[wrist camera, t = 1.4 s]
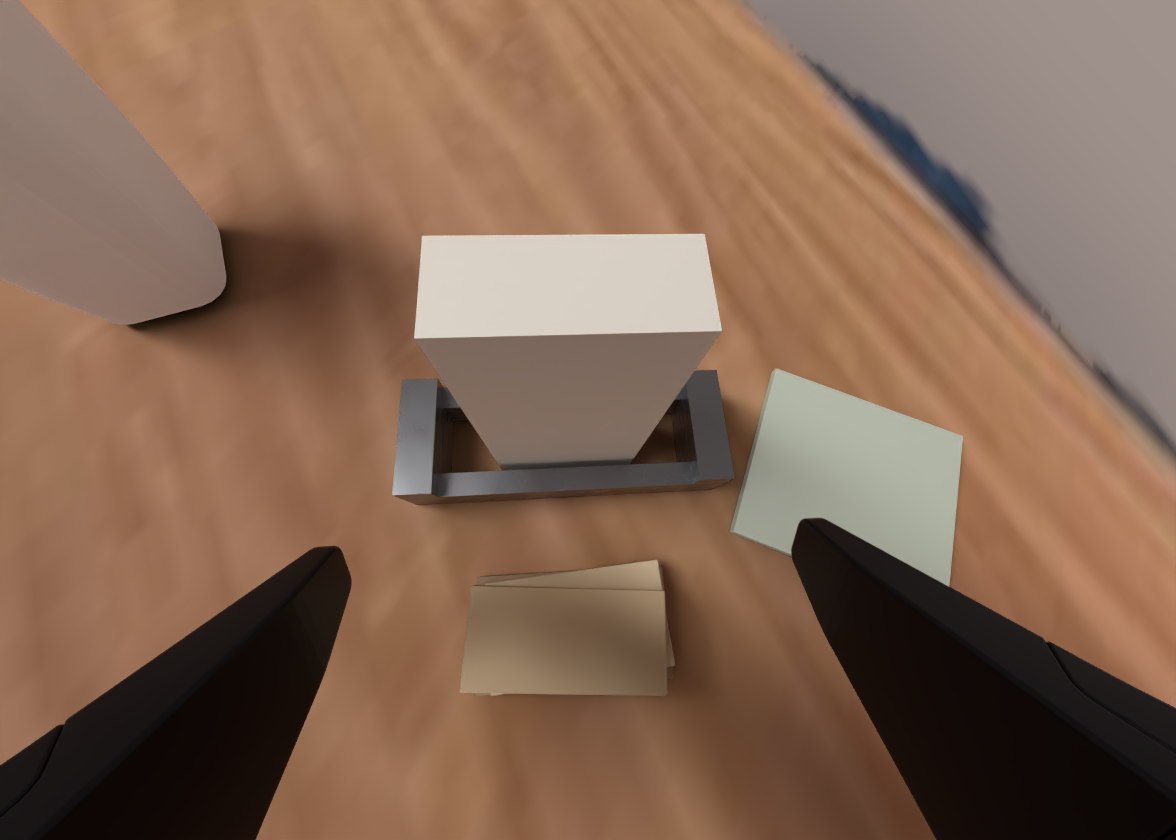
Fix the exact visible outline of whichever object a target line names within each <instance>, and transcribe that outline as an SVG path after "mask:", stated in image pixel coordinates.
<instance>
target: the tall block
mask: <svg viewBox="0 0 1176 840" xmlns="http://www.w3.org/2000/svg"><path fill="white" fill-rule="evenodd" d="M721 332H722V329H721V323H720V318H719V312H718V307H717V301H716V296H715V290H714V284H713V279H712V273H711V268H710V262H709V257H708V251H707V245H706V240H705V234H624V235H482V236H422V246H421V259H420V272H419V285H418V297H417V310H416V323H415V336H414V339H415V340H416V342H417V343H418V345H419V346H420V348H421V349H422V351H423V352H424V354H425V355H426V357H427V358H428V360H429V361H430V363H431V364H432V366H433V367H434V369H435V370H436V372H437V373H438V375H439V376H440V378H441V379H442V381H443V382H444V384H445V385H446V387H447V388H448V390H449V391H450V393H451V394H452V396H453V397H454V399H455V400H456V402H457V403H458V405H459V406H460V408H461V409H462V411H463V412H464V414H465V415H466V417H467V418H468V420H469V421H470V423H471V424H472V426H473V427H474V429H475V430H476V432H477V433H478V435H479V436H480V438H481V439H482V441H483V442H484V444H485V445H486V447H487V448H488V450H489V451H490V453H491V454H492V456H493V457H494V459H495V460H496V462H497V463H498V465H499V466H500V468H501V469H502V471H506V470H527V469H548V468H570V467H591V466H612V465H630V463H631V462H632V460H633V459H634V457H635V456H636V455H637V453H638V452H639V450H640V449H641V447H642V446H643V444H644V443H645V442H646V440H647V439H648V437H649V436H650V434H651V433H652V431H653V430H654V429H655V427H656V426H657V424H658V423H659V421H660V420H661V418H662V417H663V416H664V414H665V413H666V411H667V410H668V408H669V407H670V405H671V404H672V402H673V401H674V400H675V398H676V397H677V395H678V394H679V392H680V391H681V389H682V388H683V387H684V385H685V384H686V382H687V381H688V379H689V378H690V376H691V375H692V374H693V372H694V371H695V369H696V368H697V366H698V365H699V363H700V362H701V361H702V359H703V358H704V356H705V355H706V353H707V352H708V350H709V349H710V348H711V346H712V345H713V343H714V342H715V340H716V339H717V337H718V336H719V334H720V333H721Z"/></svg>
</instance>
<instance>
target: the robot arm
mask: <svg viewBox="0 0 1176 840" xmlns="http://www.w3.org/2000/svg"><path fill="white" fill-rule="evenodd" d="M791 555H792V560H793V563H794V565H795V567H796V570H797V572H798V574H799V577H800V579H801V581H802V584H803V586H804V588H805V591H806V593H807V595H808V598H809V600H810V602H811V605H812V607H813V610H814V612H815V614H816V617H817V619H818V621H819V623H820V626H821V628H822V630H823V632H824V634H825V636H826V638H827V640H828V642H829V644H830V646H831V647H832V649H833V651H834V653H835V655H836V657H837V658H838V660H839V662H840V664H841V666H842V667H843V669H844V671H845V673H846V675H847V677H848V678H849V680H850V682H851V684H852V686H853V688H854V689H855V691H856V693H857V695H858V697H859V699H860V700H861V702H862V704H863V706H864V708H865V710H866V711H867V713H868V715H869V717H870V719H871V721H872V722H873V724H874V726H875V728H876V730H877V732H878V733H879V735H880V737H881V739H882V741H883V743H884V744H885V746H886V748H887V750H888V752H889V754H890V755H891V757H892V759H893V761H894V763H895V765H896V766H897V768H898V770H899V772H900V774H901V776H902V777H903V779H904V781H905V783H906V785H907V787H908V788H909V790H910V792H911V794H912V796H913V798H914V799H915V801H916V803H917V805H918V807H919V809H920V810H921V812H922V814H923V816H924V818H925V820H926V821H927V823H928V825H929V827H930V829H931V831H932V832H933V834H934V836H935V838H936V840H1176V708H1174V707H1172V706H1170V705H1169V704H1167V703H1165V702H1163V701H1161V700H1159V699H1157V698H1155V697H1153V696H1151V695H1149V694H1147V693H1145V692H1143V691H1141V690H1139V689H1137V688H1135V687H1133V686H1131V685H1129V684H1127V683H1125V682H1124V681H1122V680H1120V679H1118V678H1116V677H1114V676H1112V675H1110V674H1109V673H1107V672H1105V671H1103V670H1101V669H1099V668H1097V667H1095V666H1094V665H1092V664H1090V663H1088V662H1086V661H1084V660H1082V659H1080V658H1079V657H1077V656H1075V655H1073V654H1071V653H1070V652H1068V651H1066V650H1064V649H1062V648H1060V647H1059V646H1057V645H1055V644H1053V643H1051V642H1045V640H1044V639H1043V638H1042V637H1040V636H1038V635H1037V634H1035V633H1033V632H1031V631H1029V630H1027V629H1026V628H1024V627H1022V626H1020V625H1018V624H1016V623H1015V622H1013V621H1011V620H1009V619H1007V618H1005V617H1004V616H1002V615H1000V614H998V613H996V612H994V611H993V610H991V609H989V608H987V607H985V606H983V605H982V604H980V603H978V602H976V601H974V600H973V599H971V598H969V597H967V596H965V595H963V594H962V593H960V592H958V591H956V590H954V589H952V588H951V587H949V586H947V585H945V584H943V583H941V582H940V581H938V580H936V579H934V578H932V577H930V576H929V575H927V574H925V573H923V572H921V571H919V570H918V569H916V568H914V567H912V566H910V565H909V564H907V563H905V562H903V561H901V560H899V559H898V558H896V557H894V556H892V555H890V554H888V553H887V552H885V551H883V550H881V549H879V548H877V547H876V546H874V545H872V544H870V543H868V542H866V541H865V540H863V539H861V538H859V537H857V536H855V535H854V534H852V533H850V532H848V531H846V530H844V529H843V528H841V527H839V526H837V525H835V524H834V523H832V522H830V521H828V520H826V519H824V518H819V517H818V518H804V519H802V520H801V521H800V522H799V524H798V527H797V530H796V534H795V537H794V541H793V544H792V548H791ZM350 590H351V575H350V573H349V570H348V567H347V564H346V561H345V559H344V556H343V553H342V551H341V549H340V548H339V547H337V546H323V547H315V548H313V549H311V550H309V551H308V552H306V553H305V554H304V555H302V556H301V557H299V558H298V559H296V560H295V561H293V562H292V563H291V564H289V565H288V566H286V567H285V568H283V569H282V570H281V571H279V572H278V573H276V574H275V575H273V576H272V577H271V578H269V579H268V580H266V581H265V582H263V583H262V584H260V585H259V586H258V587H256V588H255V589H253V590H252V591H250V592H249V593H248V594H246V595H245V596H243V597H242V598H240V599H239V600H238V601H236V602H235V603H233V604H232V605H230V606H229V607H227V608H226V609H225V610H223V611H222V612H220V613H219V614H217V615H216V616H215V617H213V618H212V619H210V620H209V621H207V622H206V623H205V624H203V625H202V626H200V627H199V628H197V629H196V630H194V631H193V632H192V633H190V634H189V635H187V636H186V637H184V638H183V639H182V640H180V641H179V642H177V643H176V644H174V645H173V646H172V647H170V648H169V649H167V650H166V651H164V652H163V653H161V654H160V655H159V656H157V657H156V658H154V659H153V660H151V661H150V662H149V663H147V664H146V665H144V666H143V667H141V668H140V669H138V670H137V671H136V672H134V673H133V674H131V675H130V676H128V677H127V678H126V679H124V680H123V681H121V682H120V683H118V684H117V685H115V686H114V687H113V688H111V689H110V690H108V691H107V692H105V693H104V694H103V695H101V696H100V697H98V698H97V699H95V700H94V701H92V702H91V703H90V704H88V705H87V706H85V707H84V708H82V709H81V710H80V711H78V712H77V713H75V714H74V715H72V716H71V717H69V718H68V719H67V720H66V722H65V724H64V725H63V724H62V725H58V726H56V727H55V728H54V729H52V730H51V731H49V732H48V733H46V734H45V735H44V736H42V737H41V738H39V739H38V740H36V741H35V742H33V743H32V744H31V745H29V746H28V747H26V748H25V749H23V750H22V751H21V752H19V753H18V754H16V755H15V756H13V757H12V758H10V759H9V760H7V761H6V762H4V763H3V764H2V765H0V840H256V837H257V835H258V833H259V830H260V828H261V825H262V823H263V821H264V818H265V816H266V813H267V811H268V809H269V806H270V804H271V801H272V799H273V797H274V794H275V792H276V789H277V787H278V785H279V782H280V780H281V778H282V775H283V773H284V770H285V768H286V766H287V763H288V761H289V758H290V756H291V754H292V751H293V749H294V746H295V744H296V742H297V739H298V737H299V734H300V732H301V730H302V727H303V725H304V722H305V720H306V718H307V715H308V713H309V711H310V708H311V706H312V703H313V701H314V699H315V696H316V694H317V691H318V689H319V687H320V684H321V681H322V679H323V676H324V674H325V671H326V668H327V665H328V662H329V659H330V656H331V653H332V649H333V646H334V643H335V640H336V636H337V633H338V630H339V626H340V623H341V620H342V617H343V613H344V610H345V607H346V603H347V600H348V597H349V593H350Z"/></svg>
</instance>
